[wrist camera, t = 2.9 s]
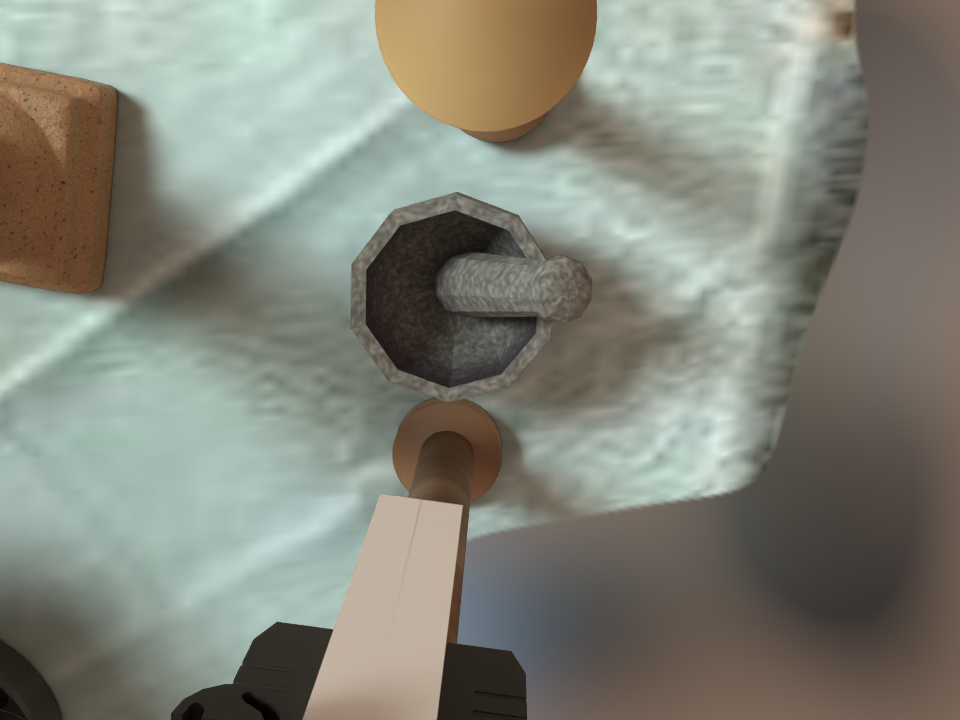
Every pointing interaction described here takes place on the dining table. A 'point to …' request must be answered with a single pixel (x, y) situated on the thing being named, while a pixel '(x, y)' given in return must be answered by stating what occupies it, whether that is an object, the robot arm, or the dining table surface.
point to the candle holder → (55, 178)
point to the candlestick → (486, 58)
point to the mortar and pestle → (459, 297)
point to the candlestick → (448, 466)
